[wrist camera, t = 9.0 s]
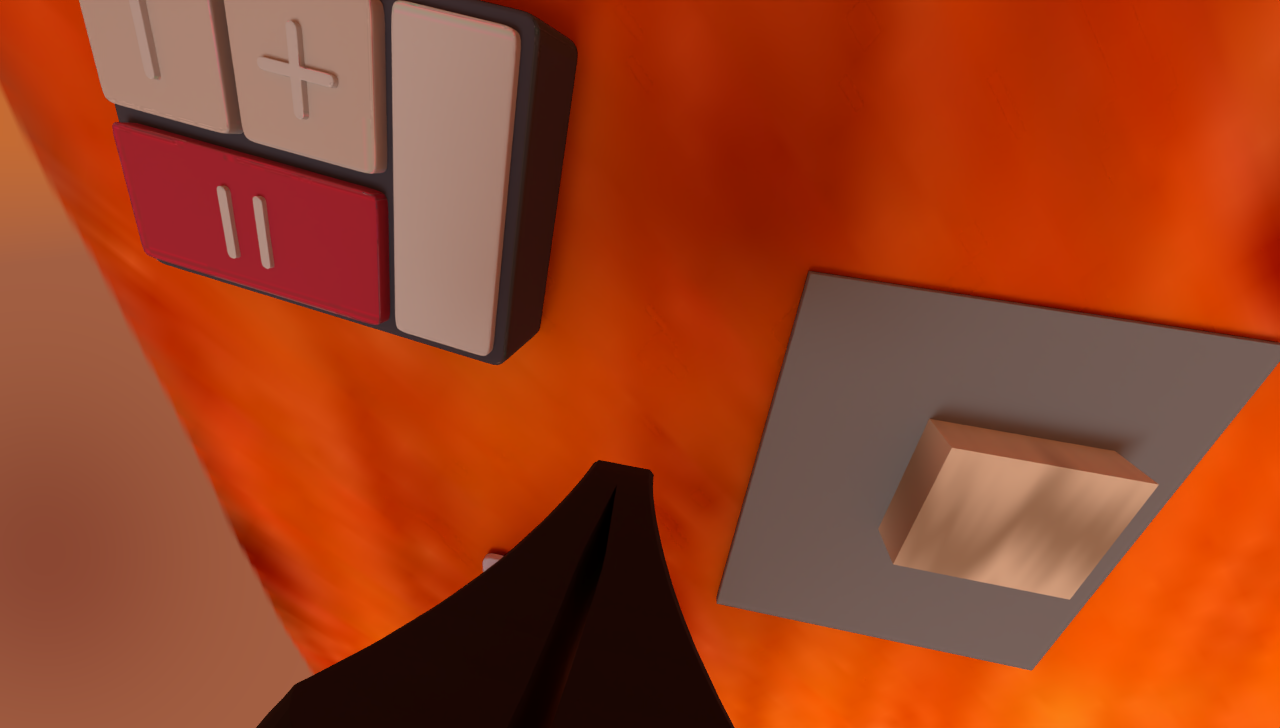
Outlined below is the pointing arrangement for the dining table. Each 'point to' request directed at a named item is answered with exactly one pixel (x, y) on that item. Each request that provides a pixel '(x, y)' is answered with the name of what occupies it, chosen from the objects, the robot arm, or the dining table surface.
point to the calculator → (348, 154)
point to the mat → (969, 395)
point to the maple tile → (1010, 508)
